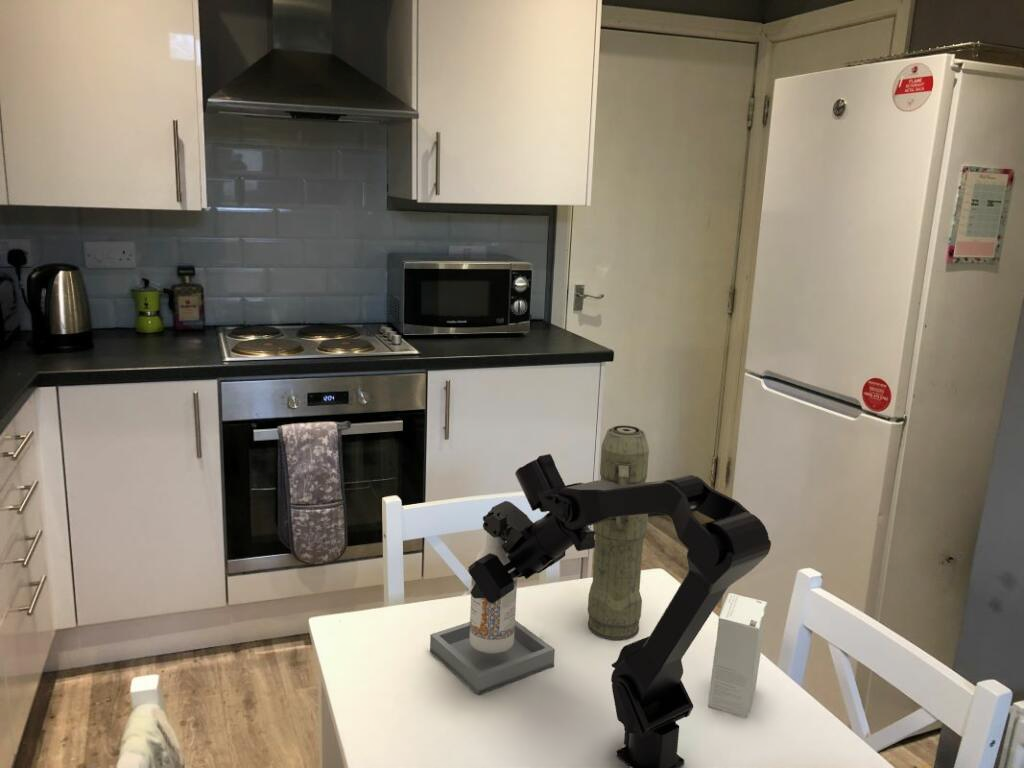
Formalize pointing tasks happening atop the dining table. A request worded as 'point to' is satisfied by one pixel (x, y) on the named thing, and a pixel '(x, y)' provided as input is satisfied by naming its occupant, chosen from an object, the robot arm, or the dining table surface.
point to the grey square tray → (491, 658)
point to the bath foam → (493, 610)
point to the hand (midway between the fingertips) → (486, 586)
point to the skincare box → (737, 654)
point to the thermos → (619, 541)
